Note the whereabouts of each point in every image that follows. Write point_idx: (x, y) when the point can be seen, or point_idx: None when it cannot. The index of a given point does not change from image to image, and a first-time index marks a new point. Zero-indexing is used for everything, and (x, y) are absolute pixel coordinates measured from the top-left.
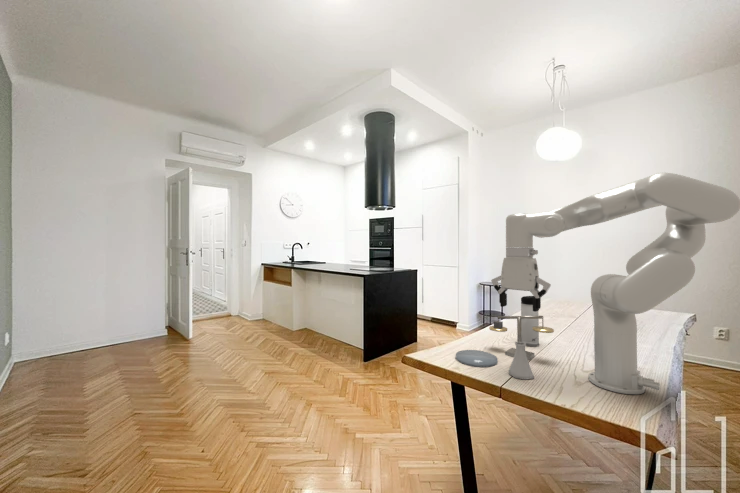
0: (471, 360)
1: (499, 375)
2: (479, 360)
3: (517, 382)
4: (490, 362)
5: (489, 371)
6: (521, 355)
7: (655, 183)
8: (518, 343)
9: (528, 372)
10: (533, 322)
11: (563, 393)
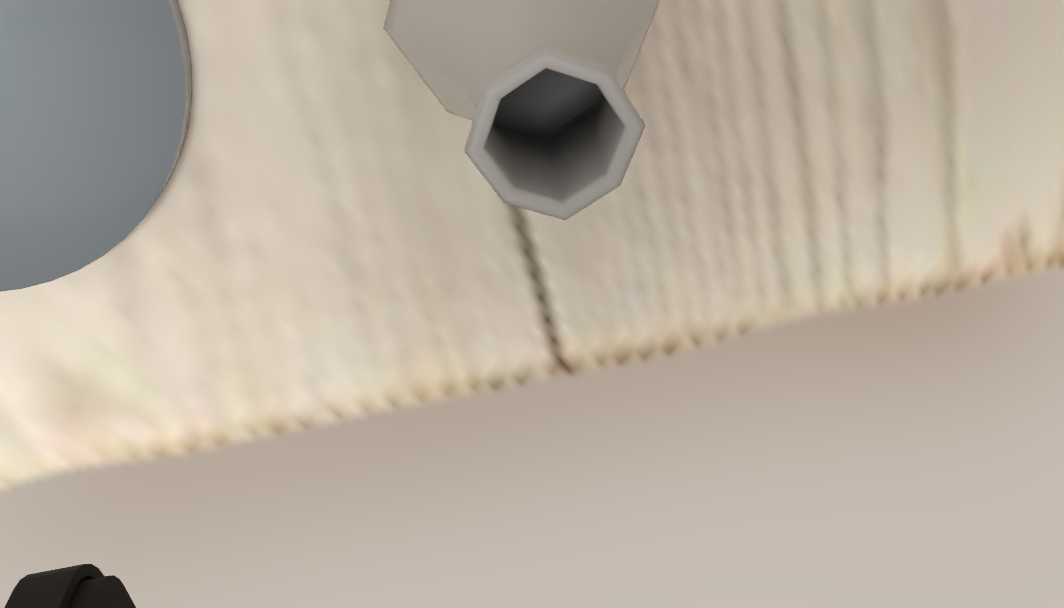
0: (8, 210)
1: (407, 201)
2: (44, 133)
3: None
4: (150, 71)
5: (286, 204)
6: (583, 130)
7: None
8: (498, 101)
9: (636, 49)
10: None
11: (973, 49)
